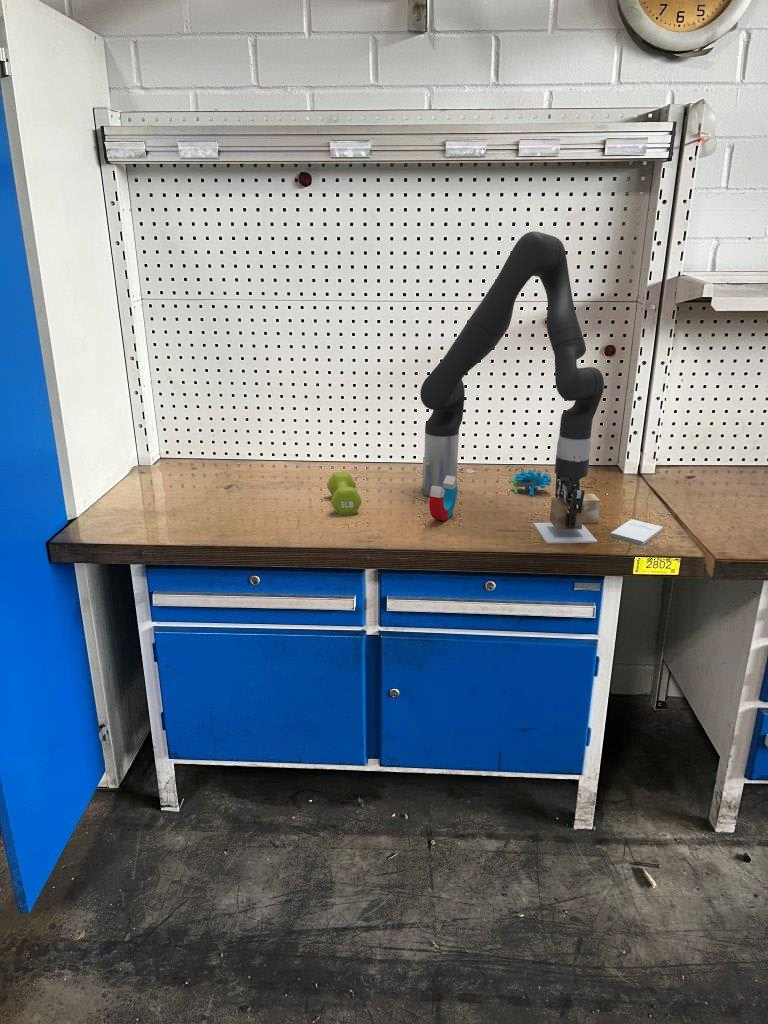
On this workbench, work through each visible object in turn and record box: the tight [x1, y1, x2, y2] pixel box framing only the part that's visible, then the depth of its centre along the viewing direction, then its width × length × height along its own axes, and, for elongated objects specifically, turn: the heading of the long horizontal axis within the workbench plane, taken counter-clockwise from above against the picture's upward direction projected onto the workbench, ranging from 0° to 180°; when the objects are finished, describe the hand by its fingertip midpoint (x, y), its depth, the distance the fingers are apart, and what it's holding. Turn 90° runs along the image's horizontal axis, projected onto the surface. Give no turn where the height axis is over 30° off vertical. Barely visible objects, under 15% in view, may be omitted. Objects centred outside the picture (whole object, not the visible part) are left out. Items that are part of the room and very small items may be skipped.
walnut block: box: [549, 496, 584, 530], centre depth 165 cm, size 6×6×6 cm
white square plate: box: [532, 522, 599, 545], centre depth 167 cm, size 12×12×1 cm
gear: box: [510, 469, 552, 497], centre depth 193 cm, size 11×6×10 cm
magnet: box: [428, 475, 458, 522], centre depth 174 cm, size 12×3×10 cm, turn 152°
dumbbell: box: [326, 471, 363, 516], centre depth 183 cm, size 16×8×7 cm, turn 8°
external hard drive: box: [609, 518, 664, 546], centre depth 167 cm, size 2×8×12 cm
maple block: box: [583, 493, 601, 524], centre depth 175 cm, size 5×5×6 cm
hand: (565, 522), depth 166 cm, fingers closed on walnut block, 6 cm apart
